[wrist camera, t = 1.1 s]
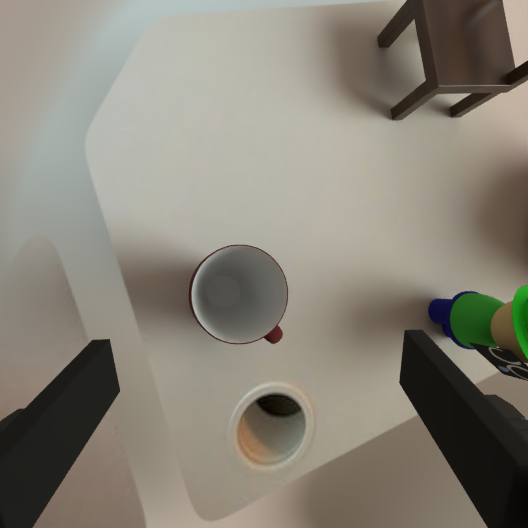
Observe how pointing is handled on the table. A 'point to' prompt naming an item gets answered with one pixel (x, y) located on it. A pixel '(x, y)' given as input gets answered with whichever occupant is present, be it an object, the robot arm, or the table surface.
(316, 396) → the table surface
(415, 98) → the chair
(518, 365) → the toy
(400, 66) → the table surface
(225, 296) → the mug
